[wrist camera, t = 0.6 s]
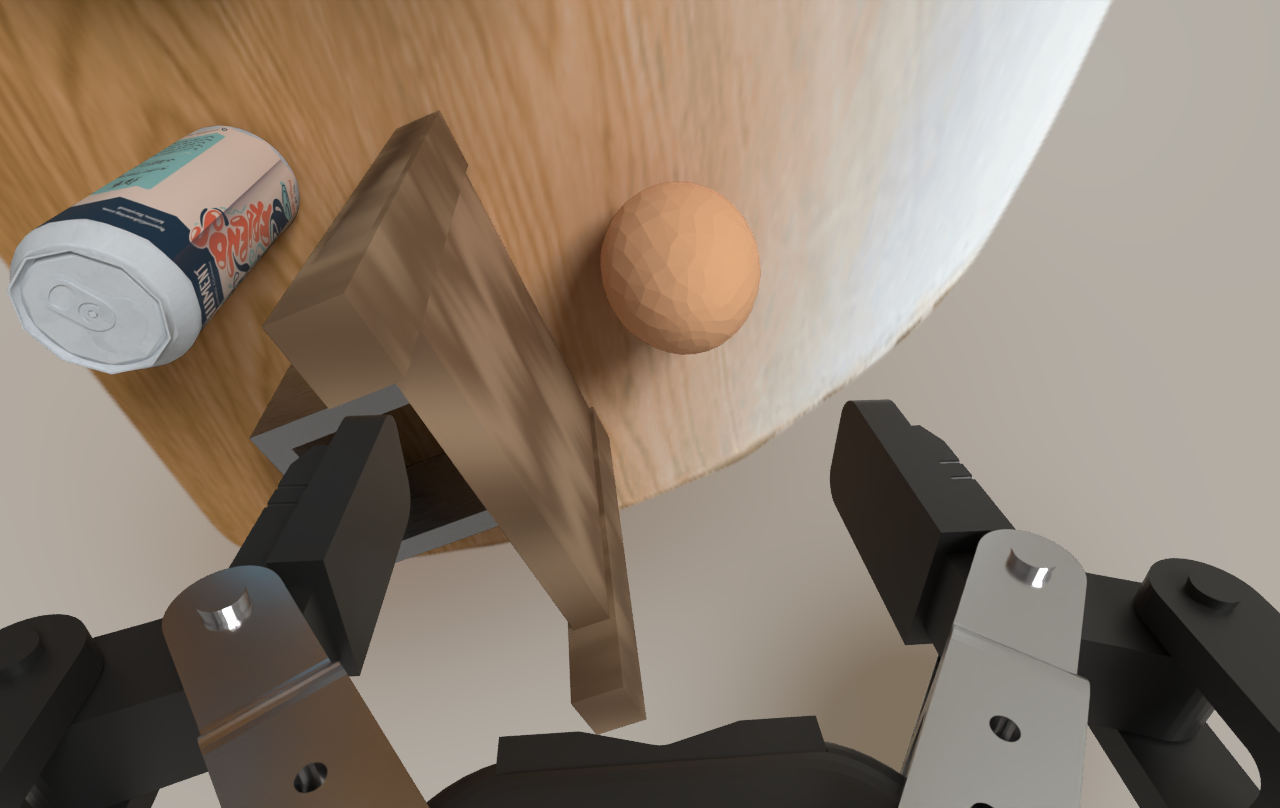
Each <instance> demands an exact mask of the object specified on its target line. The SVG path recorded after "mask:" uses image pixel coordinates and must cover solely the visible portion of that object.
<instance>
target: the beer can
mask: <svg viewBox="0 0 1280 808" xmlns="http://www.w3.org/2000/svg"><path fill="white" fill-rule="evenodd" d="M299 201H300V196H299V190H298V185H297V181H296V178H295V176H294V174H293V171H292V170H291V168H290V166H289V165H288V163H287V162H286V160H285V159H284V158H283V157H282V156H281V154H280V153H279V152H278V151H277V150H276V149H274V148H273V147H272V146H271V145H270V144H269V143H267V142H266V141H264V140H263V139H261V138H259V137H258V136H256V135H254V134H252V133H250V132H247V131H245V130H242V129H238V128H234V127H230V126H212V127H205V128H201V129H199V130H197V131H194V132H192V133H190V134H188V135H187V136H185V137H183V138H182V139H180V140H179V141H177V142H175V143H174V144H172V145H170V146H169V147H167V148H166V149H164V150H162V151H161V152H159V153H157V154H156V155H154V156H153V157H151V158H149V159H148V160H146V161H144V162H143V163H141V164H140V165H138V166H136V167H135V168H133V169H131V170H130V171H128V172H127V173H125V174H123V175H122V176H120V177H118V178H117V179H115V180H114V181H112V182H110V183H109V184H107V185H105V186H104V187H102V188H101V189H99V190H97V191H96V192H94V193H92V194H91V195H89V196H88V197H86V198H84V199H83V200H81V201H79V202H78V203H76V204H75V205H73V206H71V207H70V208H68V209H66V210H65V211H63V212H62V213H60V214H58V215H57V216H55V217H53V218H52V219H50V220H49V221H47V222H45V223H44V224H42V225H40V226H39V227H37V228H35V229H34V230H32V231H31V232H30V233H29V234H27V235H26V236H25V238H24V239H23V240H22V241H21V243H20V244H19V245H18V246H17V248H16V250H15V253H14V256H13V259H12V262H11V268H10V285H9V286H8V288H7V292H8V294H9V297H10V299H11V301H12V304H13V307H14V309H15V311H16V314H17V316H18V319H19V321H20V324H21V326H22V329H23V330H24V331H26V332H27V333H28V334H30V335H31V336H32V337H33V338H35V339H36V340H37V341H38V342H40V343H41V344H42V345H44V346H45V347H46V348H47V349H49V350H50V351H51V352H52V353H54V354H55V355H56V356H58V357H59V358H60V359H62V360H63V361H66V362H69V363H73V364H76V365H80V366H83V367H87V368H91V369H94V370H98V371H102V372H105V373H109V374H116V373H120V372H125V371H131V370H138V369H146V368H150V367H155V366H160V365H164V364H168V363H170V362H172V361H174V360H176V359H177V358H179V357H181V356H183V355H184V354H185V353H186V352H187V351H188V350H189V349H190V347H191V346H192V345H193V344H194V342H195V340H196V338H197V336H198V335H199V333H200V332H201V330H202V329H203V328H204V327H205V326H206V324H207V323H208V322H209V321H210V319H211V318H212V317H213V316H214V315H215V313H216V312H217V311H218V310H219V309H220V307H221V306H222V305H223V304H224V302H225V301H226V300H227V299H228V298H229V296H230V295H231V294H232V293H233V291H234V290H235V289H236V288H237V287H238V285H239V284H240V283H241V282H242V281H243V279H244V278H245V277H246V276H247V274H248V273H249V272H250V271H251V270H252V268H253V267H254V266H255V265H256V263H257V262H258V261H259V260H260V259H261V257H262V256H263V255H264V254H265V253H266V251H267V250H268V249H269V248H270V246H271V245H272V244H273V243H274V242H275V240H276V239H277V238H278V237H279V235H280V234H281V233H283V232H284V231H285V230H286V229H287V228H288V226H289V225H290V224H291V223H292V222H293V220H294V218H295V216H296V215H297V212H298V209H299Z"/></svg>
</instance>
